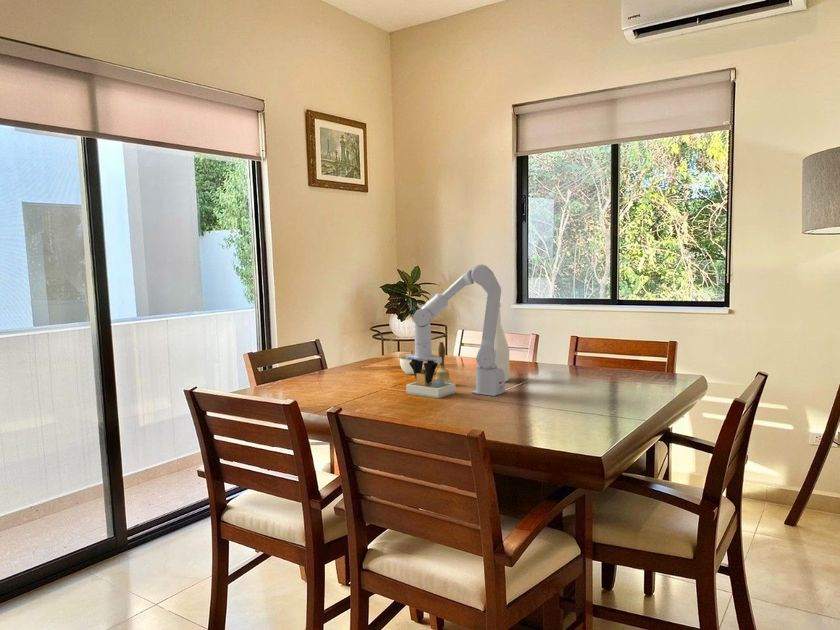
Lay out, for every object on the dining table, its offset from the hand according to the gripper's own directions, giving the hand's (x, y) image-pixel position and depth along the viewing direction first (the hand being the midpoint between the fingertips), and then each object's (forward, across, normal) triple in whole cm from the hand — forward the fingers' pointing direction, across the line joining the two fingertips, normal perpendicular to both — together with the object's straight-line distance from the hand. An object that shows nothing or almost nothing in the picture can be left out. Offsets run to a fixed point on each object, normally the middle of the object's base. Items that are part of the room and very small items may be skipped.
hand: (424, 381), depth 214 cm
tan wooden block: (+3, 0, 0) cm, 3 cm away
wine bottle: (+4, +11, +31) cm, 33 cm away
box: (+4, +3, 0) cm, 5 cm away
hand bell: (+4, -2, +14) cm, 15 cm away
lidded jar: (+4, -27, +27) cm, 39 cm away
